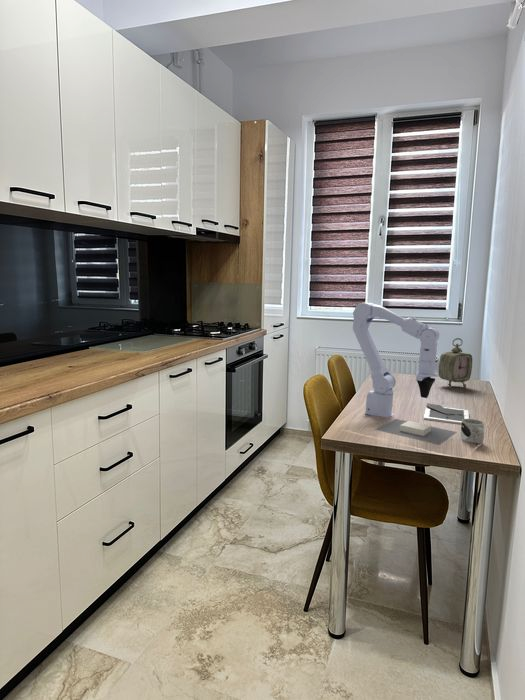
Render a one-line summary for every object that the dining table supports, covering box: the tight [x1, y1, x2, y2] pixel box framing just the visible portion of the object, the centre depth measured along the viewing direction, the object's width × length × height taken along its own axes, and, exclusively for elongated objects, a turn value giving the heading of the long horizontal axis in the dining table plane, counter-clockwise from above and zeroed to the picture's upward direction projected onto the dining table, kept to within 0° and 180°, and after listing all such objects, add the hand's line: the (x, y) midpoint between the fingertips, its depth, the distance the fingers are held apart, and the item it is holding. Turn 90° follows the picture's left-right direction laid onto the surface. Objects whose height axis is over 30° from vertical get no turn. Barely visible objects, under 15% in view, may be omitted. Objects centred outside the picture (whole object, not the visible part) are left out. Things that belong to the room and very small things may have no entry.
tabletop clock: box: [438, 337, 473, 389], centre depth 240 cm, size 14×9×25 cm, turn 118°
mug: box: [459, 418, 485, 445], centre depth 155 cm, size 10×7×7 cm
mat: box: [374, 418, 458, 446], centre depth 164 cm, size 22×18×1 cm
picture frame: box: [423, 403, 470, 425], centre depth 185 cm, size 16×3×21 cm
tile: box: [400, 420, 432, 436], centre depth 163 cm, size 8×2×7 cm
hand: (424, 397), depth 175 cm, fingers closed
